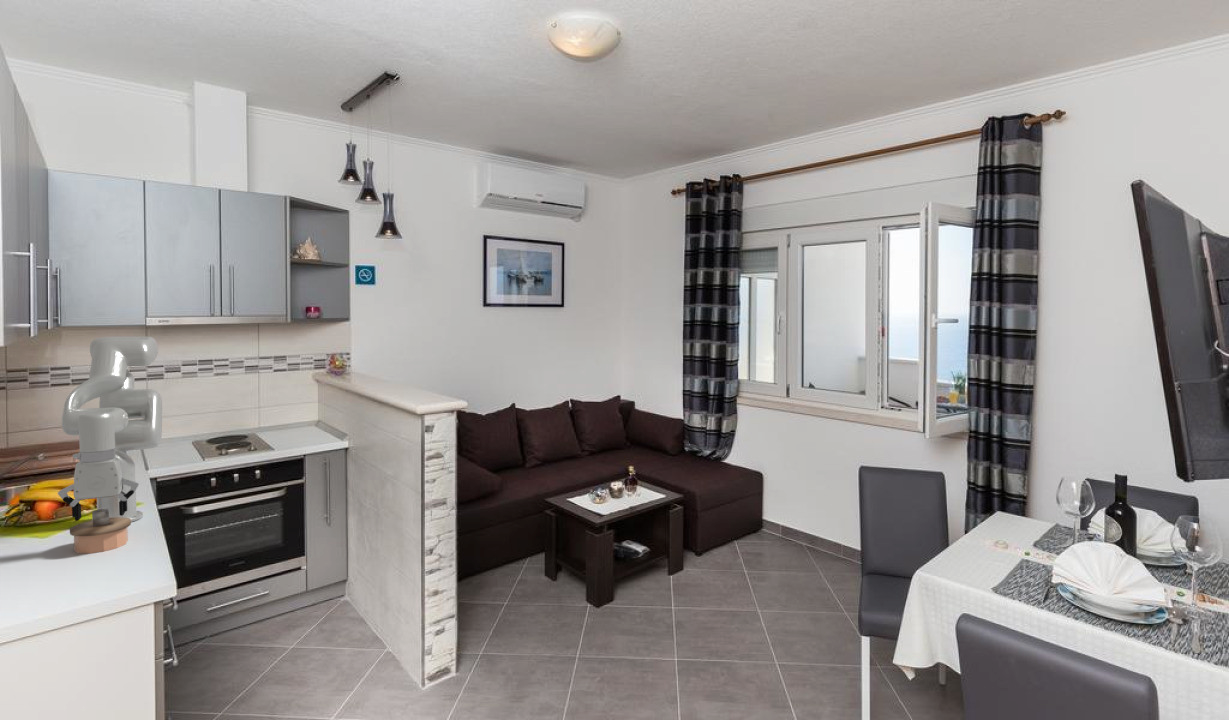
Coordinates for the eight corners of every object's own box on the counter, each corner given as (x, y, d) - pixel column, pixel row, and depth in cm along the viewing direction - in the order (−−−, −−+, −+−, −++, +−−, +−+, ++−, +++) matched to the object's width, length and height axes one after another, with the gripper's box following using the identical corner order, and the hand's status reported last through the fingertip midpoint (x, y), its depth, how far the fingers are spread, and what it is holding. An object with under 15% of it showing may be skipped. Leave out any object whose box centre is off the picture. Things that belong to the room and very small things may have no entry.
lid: (63, 539, 160) (62, 520, 159) (77, 524, 171) (76, 507, 171) (125, 531, 166) (125, 513, 166) (135, 518, 177) (134, 501, 177)
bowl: (81, 542, 171) (80, 525, 170) (130, 536, 176) (130, 519, 176) (70, 556, 161) (69, 537, 161) (122, 548, 167) (121, 531, 166)
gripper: (52, 462, 160) (55, 525, 161) (134, 455, 168) (137, 516, 169) (60, 456, 166) (63, 517, 167) (139, 450, 175) (142, 508, 176)
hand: (100, 516), depth 168 cm, fingers open, 9 cm apart
